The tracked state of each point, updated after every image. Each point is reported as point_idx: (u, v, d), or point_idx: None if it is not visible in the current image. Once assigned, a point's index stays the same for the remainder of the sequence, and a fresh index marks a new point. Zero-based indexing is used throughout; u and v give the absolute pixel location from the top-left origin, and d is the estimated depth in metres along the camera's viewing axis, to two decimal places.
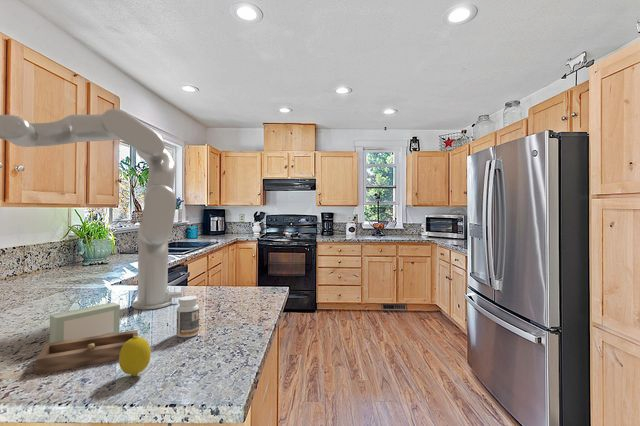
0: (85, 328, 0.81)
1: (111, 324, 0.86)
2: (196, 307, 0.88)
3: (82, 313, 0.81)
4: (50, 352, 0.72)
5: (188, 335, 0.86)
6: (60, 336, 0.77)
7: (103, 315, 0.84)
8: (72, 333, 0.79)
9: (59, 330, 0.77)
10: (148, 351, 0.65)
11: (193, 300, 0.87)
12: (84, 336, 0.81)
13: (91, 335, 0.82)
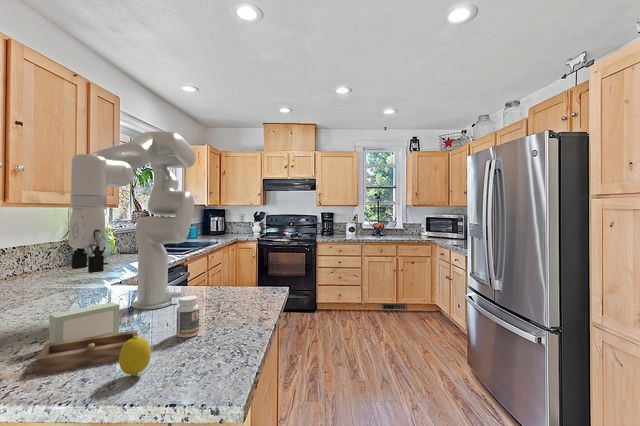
0: (84, 328, 0.81)
1: (111, 324, 0.86)
2: (196, 307, 0.88)
3: (81, 313, 0.81)
4: (50, 352, 0.72)
5: (188, 335, 0.86)
6: (59, 336, 0.77)
7: (102, 315, 0.85)
8: (71, 333, 0.79)
9: (58, 330, 0.77)
10: (148, 351, 0.65)
11: (193, 300, 0.87)
12: (83, 336, 0.81)
13: (90, 335, 0.82)
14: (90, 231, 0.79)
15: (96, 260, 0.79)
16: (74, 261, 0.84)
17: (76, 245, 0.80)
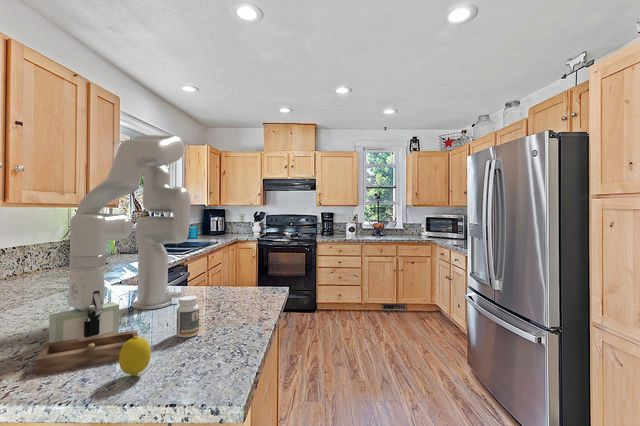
0: None
1: (111, 323, 0.86)
2: (196, 307, 0.88)
3: (81, 313, 0.81)
4: (50, 352, 0.72)
5: (188, 335, 0.86)
6: (59, 335, 0.77)
7: (102, 314, 0.85)
8: (71, 332, 0.79)
9: (58, 330, 0.77)
10: (148, 351, 0.65)
11: (193, 300, 0.87)
12: (83, 336, 0.81)
13: None
14: (89, 293, 0.79)
15: (92, 324, 0.81)
16: None
17: (75, 306, 0.80)
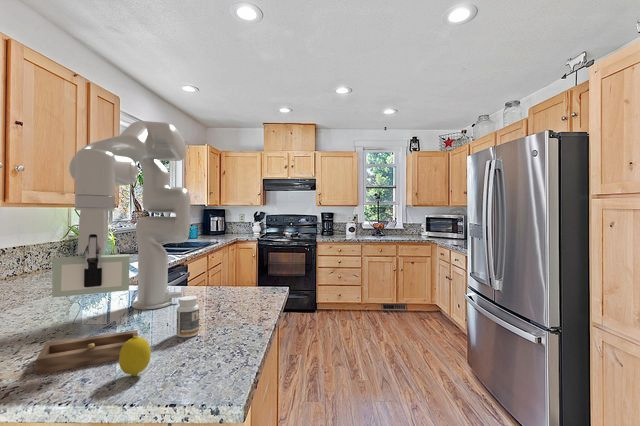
0: None
1: (119, 277, 0.75)
2: (196, 307, 0.88)
3: (83, 259, 0.71)
4: (50, 352, 0.72)
5: (188, 335, 0.86)
6: (57, 281, 0.69)
7: (108, 265, 0.74)
8: (71, 279, 0.70)
9: (56, 274, 0.69)
10: (148, 351, 0.65)
11: (193, 300, 0.87)
12: None
13: None
14: (84, 236, 0.69)
15: (91, 273, 0.71)
16: None
17: None
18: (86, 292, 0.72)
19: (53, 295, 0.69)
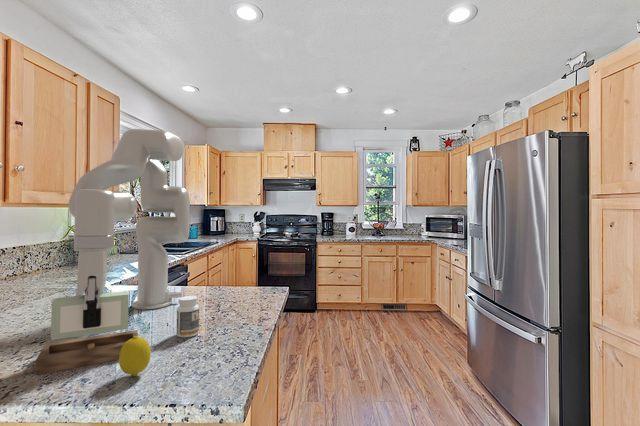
0: None
1: (118, 316, 0.75)
2: (196, 307, 0.88)
3: (82, 300, 0.71)
4: (50, 352, 0.72)
5: (188, 335, 0.86)
6: (56, 323, 0.69)
7: (107, 304, 0.74)
8: (70, 321, 0.70)
9: (55, 316, 0.69)
10: (148, 351, 0.65)
11: (193, 300, 0.87)
12: None
13: None
14: (83, 278, 0.69)
15: (90, 314, 0.71)
16: None
17: None
18: (85, 333, 0.71)
19: (52, 337, 0.68)
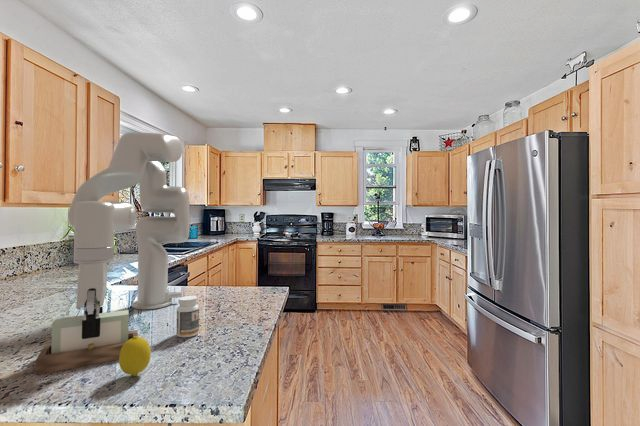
0: None
1: (118, 336, 0.75)
2: (196, 307, 0.88)
3: None
4: (50, 352, 0.72)
5: (188, 335, 0.86)
6: (56, 344, 0.69)
7: (108, 324, 0.74)
8: (70, 342, 0.70)
9: (55, 338, 0.69)
10: (148, 351, 0.65)
11: (193, 300, 0.87)
12: (85, 347, 0.72)
13: None
14: (83, 291, 0.69)
15: (89, 324, 0.69)
16: None
17: None
18: None
19: None
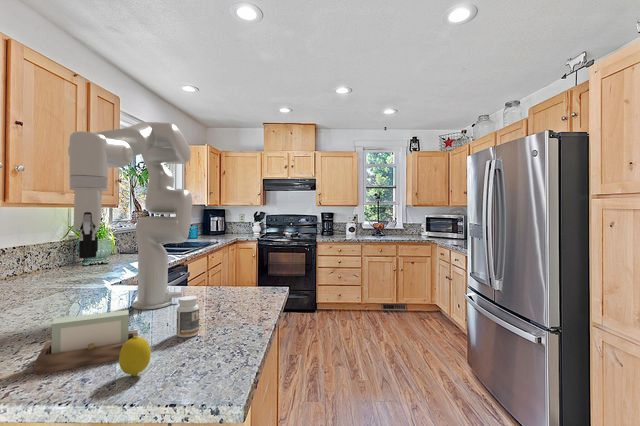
0: (85, 338, 0.72)
1: (118, 336, 0.75)
2: (196, 307, 0.88)
3: (82, 321, 0.71)
4: (50, 352, 0.72)
5: (188, 335, 0.86)
6: (56, 344, 0.69)
7: (108, 324, 0.74)
8: (70, 342, 0.70)
9: (55, 338, 0.69)
10: (148, 351, 0.65)
11: (193, 300, 0.87)
12: (85, 347, 0.72)
13: None
14: (80, 213, 0.74)
15: (85, 244, 0.74)
16: None
17: None
18: None
19: None
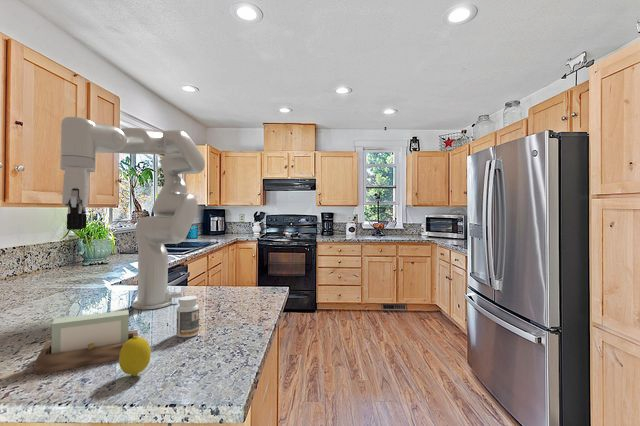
0: (85, 338, 0.72)
1: (118, 336, 0.75)
2: (196, 307, 0.88)
3: (82, 321, 0.71)
4: (50, 352, 0.72)
5: (188, 335, 0.86)
6: (56, 344, 0.69)
7: (108, 324, 0.74)
8: (70, 342, 0.70)
9: (55, 338, 0.69)
10: (148, 351, 0.65)
11: (193, 300, 0.87)
12: (85, 347, 0.72)
13: None
14: (68, 189, 0.82)
15: (72, 217, 0.82)
16: None
17: None
18: None
19: None
